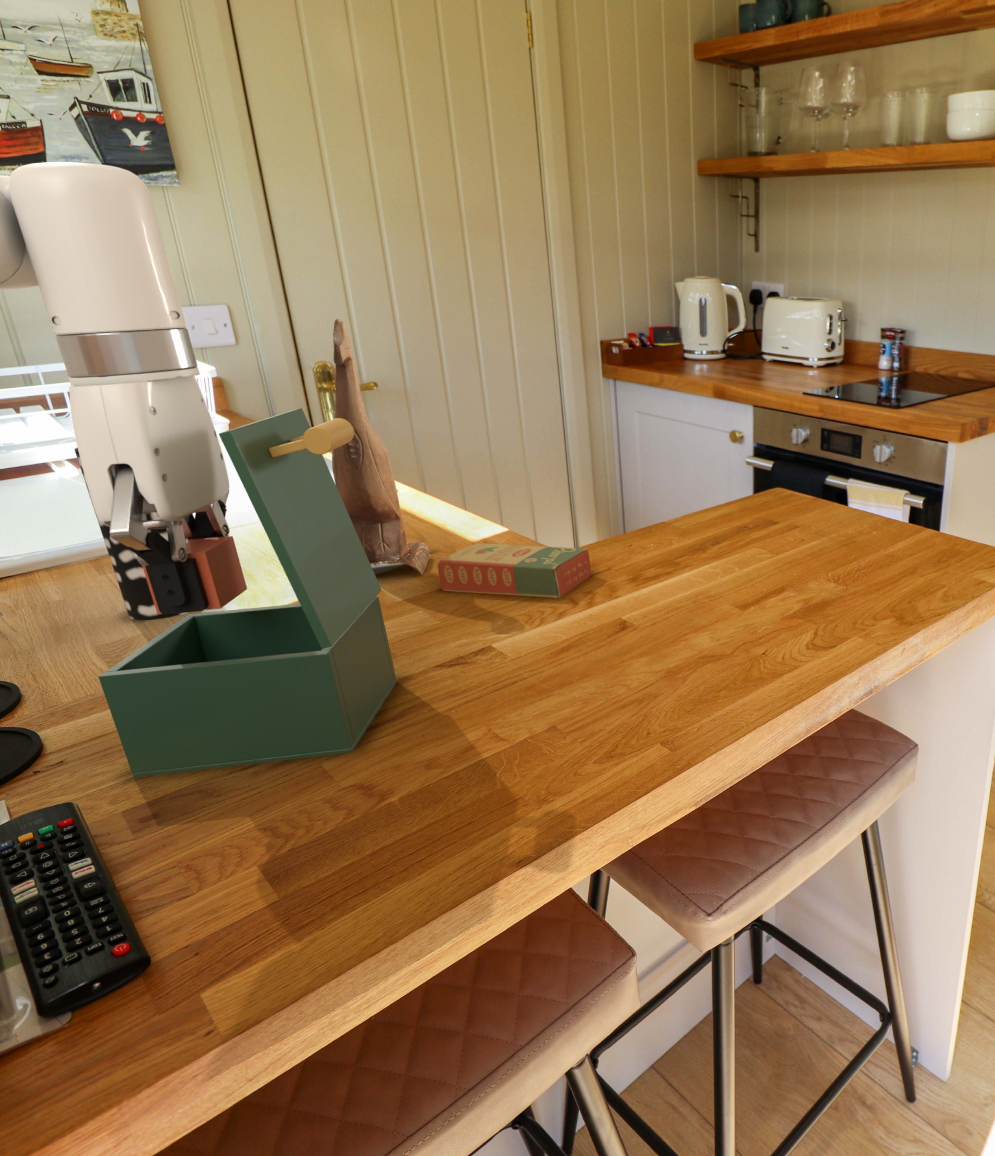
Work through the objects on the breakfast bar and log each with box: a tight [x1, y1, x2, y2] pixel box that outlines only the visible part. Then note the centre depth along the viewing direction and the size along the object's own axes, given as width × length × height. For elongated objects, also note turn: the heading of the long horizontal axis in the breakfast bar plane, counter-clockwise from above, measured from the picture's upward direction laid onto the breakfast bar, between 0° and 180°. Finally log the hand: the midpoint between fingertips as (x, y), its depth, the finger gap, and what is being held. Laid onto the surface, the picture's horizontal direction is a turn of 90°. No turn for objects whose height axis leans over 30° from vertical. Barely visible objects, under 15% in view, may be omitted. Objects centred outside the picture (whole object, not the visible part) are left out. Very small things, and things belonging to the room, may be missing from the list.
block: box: [142, 535, 248, 614], centre depth 64 cm, size 4×4×4 cm
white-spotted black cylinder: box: [74, 447, 190, 621], centre depth 95 cm, size 8×8×20 cm
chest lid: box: [218, 407, 382, 649], centre depth 64 cm, size 16×13×5 cm
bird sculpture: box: [331, 318, 431, 576], centre depth 103 cm, size 11×12×32 cm
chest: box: [98, 596, 398, 778], centre depth 67 cm, size 16×13×9 cm
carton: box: [437, 542, 592, 599], centre depth 100 cm, size 8×16×4 cm, turn 74°
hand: (202, 597), depth 64 cm, fingers closed on block, 4 cm apart
